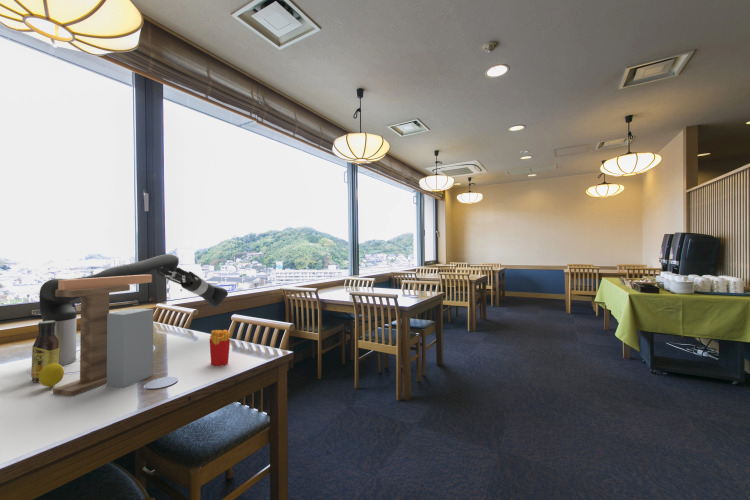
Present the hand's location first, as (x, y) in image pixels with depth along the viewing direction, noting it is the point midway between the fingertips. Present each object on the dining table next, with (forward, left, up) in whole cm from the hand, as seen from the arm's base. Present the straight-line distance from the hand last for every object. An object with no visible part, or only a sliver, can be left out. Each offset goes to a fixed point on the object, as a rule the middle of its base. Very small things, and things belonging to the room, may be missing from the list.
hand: (168, 269), depth 128 cm
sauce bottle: (-18, -30, -37) cm, 51 cm away
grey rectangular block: (+11, -24, -37) cm, 45 cm away
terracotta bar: (+2, -24, -5) cm, 24 cm away
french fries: (+30, -4, -37) cm, 48 cm away
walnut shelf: (+2, -29, -37) cm, 46 cm away
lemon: (-8, -34, -37) cm, 51 cm away
